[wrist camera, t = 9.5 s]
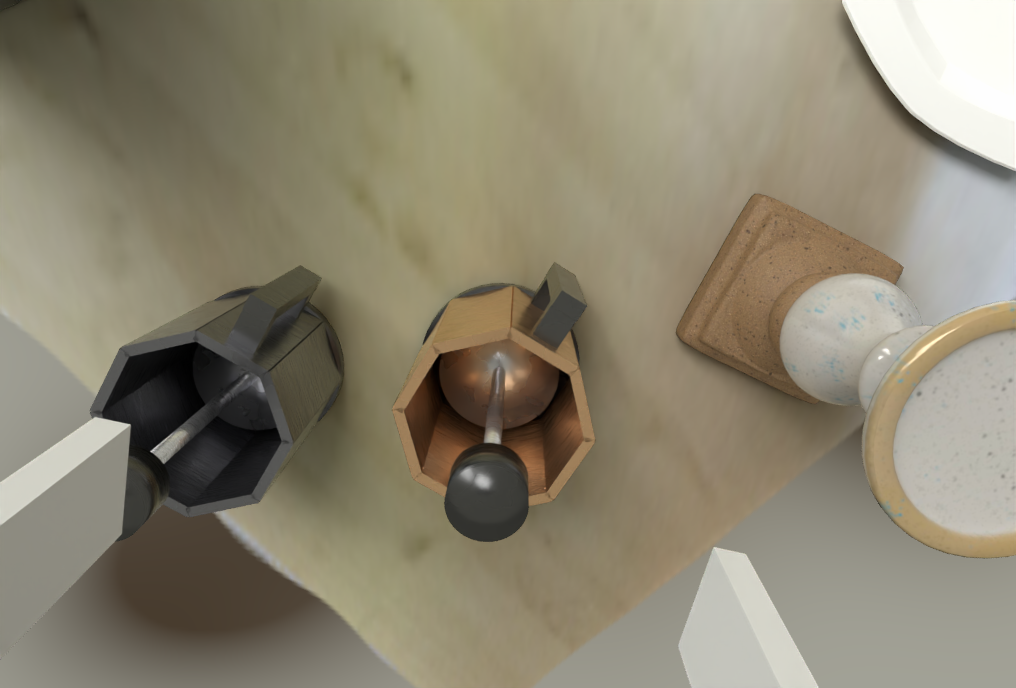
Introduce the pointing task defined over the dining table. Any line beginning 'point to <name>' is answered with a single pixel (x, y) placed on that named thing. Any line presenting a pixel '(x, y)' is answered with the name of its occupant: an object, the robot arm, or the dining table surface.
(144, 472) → the steel plunger
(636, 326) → the dining table surface
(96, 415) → the steel carafe
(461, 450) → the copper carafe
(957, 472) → the candle holder
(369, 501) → the dining table surface
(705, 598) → the robot arm
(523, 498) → the copper plunger
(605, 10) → the dining table surface
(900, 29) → the plate
